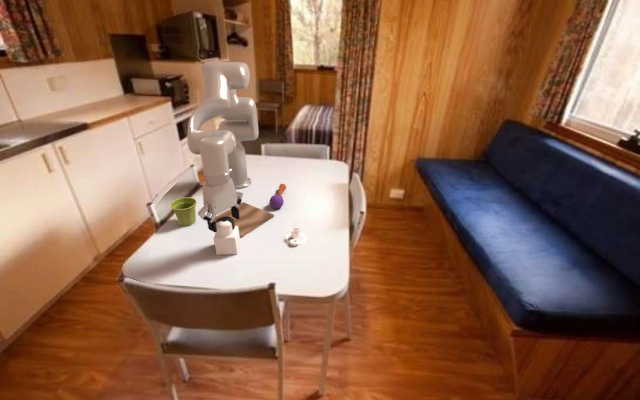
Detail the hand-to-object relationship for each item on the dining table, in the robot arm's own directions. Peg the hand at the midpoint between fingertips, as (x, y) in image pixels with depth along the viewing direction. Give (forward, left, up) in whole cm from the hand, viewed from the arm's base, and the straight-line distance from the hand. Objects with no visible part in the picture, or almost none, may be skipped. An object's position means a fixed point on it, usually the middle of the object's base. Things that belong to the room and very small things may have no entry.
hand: (224, 224), depth 103 cm
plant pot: (-26, +2, -11) cm, 28 cm away
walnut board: (-10, +16, -10) cm, 22 cm away
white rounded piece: (+14, +16, -11) cm, 24 cm away
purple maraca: (-9, +38, -11) cm, 40 cm away
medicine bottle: (0, 0, -11) cm, 11 cm away
